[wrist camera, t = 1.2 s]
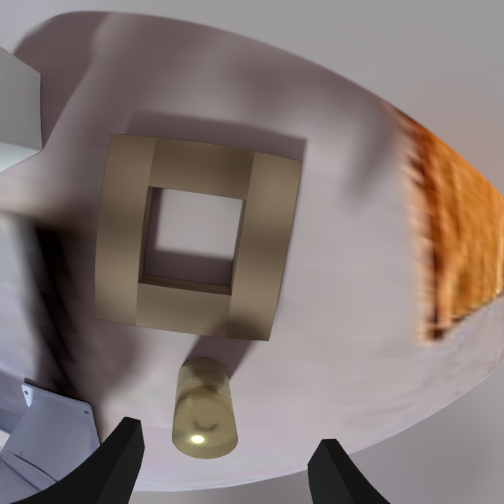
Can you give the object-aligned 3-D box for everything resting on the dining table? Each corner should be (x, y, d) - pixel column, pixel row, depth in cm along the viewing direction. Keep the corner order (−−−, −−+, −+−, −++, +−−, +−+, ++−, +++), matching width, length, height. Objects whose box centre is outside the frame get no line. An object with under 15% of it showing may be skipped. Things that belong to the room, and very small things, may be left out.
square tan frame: (263, 328, 21) (268, 341, 19) (104, 307, 19) (95, 318, 17) (293, 164, 19) (302, 161, 17) (120, 139, 17) (111, 133, 15)
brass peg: (225, 398, 22) (233, 459, 15) (177, 393, 21) (171, 455, 14) (231, 360, 21) (242, 421, 14) (179, 354, 21) (172, 415, 14)
